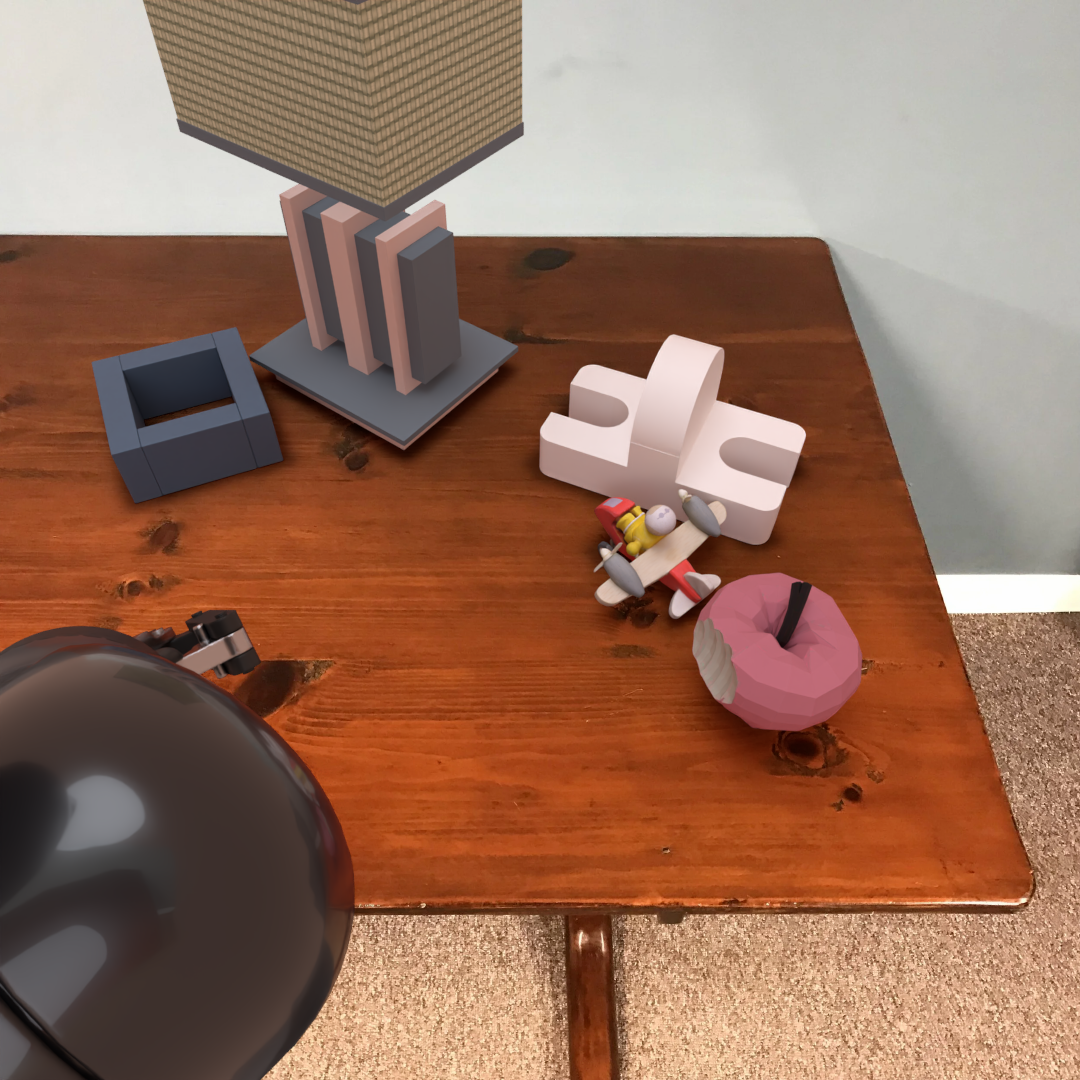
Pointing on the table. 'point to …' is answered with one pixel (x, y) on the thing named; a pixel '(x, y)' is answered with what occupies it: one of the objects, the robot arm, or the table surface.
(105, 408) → the stand
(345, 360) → the desk lamp
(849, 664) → the apple
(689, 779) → the table surface
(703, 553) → the table surface
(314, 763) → the table surface
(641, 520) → the toy airplane
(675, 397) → the slotted arch bracket
